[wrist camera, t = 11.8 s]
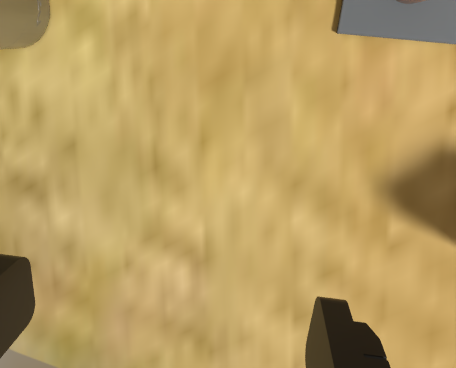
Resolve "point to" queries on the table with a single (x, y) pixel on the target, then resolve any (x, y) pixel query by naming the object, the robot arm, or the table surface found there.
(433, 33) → the rubber mat
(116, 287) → the table surface
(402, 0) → the terracotta canister
